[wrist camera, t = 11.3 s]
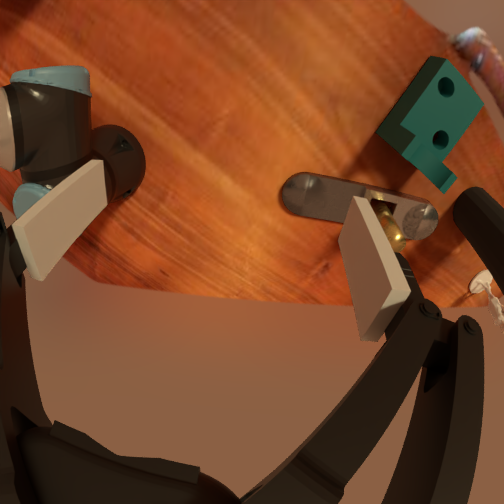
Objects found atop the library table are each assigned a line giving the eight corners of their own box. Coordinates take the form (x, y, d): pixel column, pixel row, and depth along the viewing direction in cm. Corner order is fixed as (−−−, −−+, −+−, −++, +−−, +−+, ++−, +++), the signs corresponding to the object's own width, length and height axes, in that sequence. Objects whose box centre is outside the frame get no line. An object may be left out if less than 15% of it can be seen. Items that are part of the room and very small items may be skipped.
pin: (365, 213, 52) (381, 251, 42) (371, 196, 50) (389, 232, 40) (382, 217, 52) (401, 255, 42) (388, 200, 50) (409, 236, 40)
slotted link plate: (279, 208, 53) (278, 215, 52) (286, 168, 49) (286, 173, 47) (424, 236, 53) (428, 242, 51) (439, 203, 48) (444, 208, 46)
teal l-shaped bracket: (416, 166, 45) (443, 194, 37) (375, 132, 42) (401, 154, 34) (467, 96, 35) (503, 113, 27) (430, 55, 32) (467, 63, 24)
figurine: (476, 269, 56) (506, 323, 42) (496, 269, 55) (527, 320, 41) (465, 293, 61) (490, 347, 47) (485, 291, 60) (511, 342, 46)
